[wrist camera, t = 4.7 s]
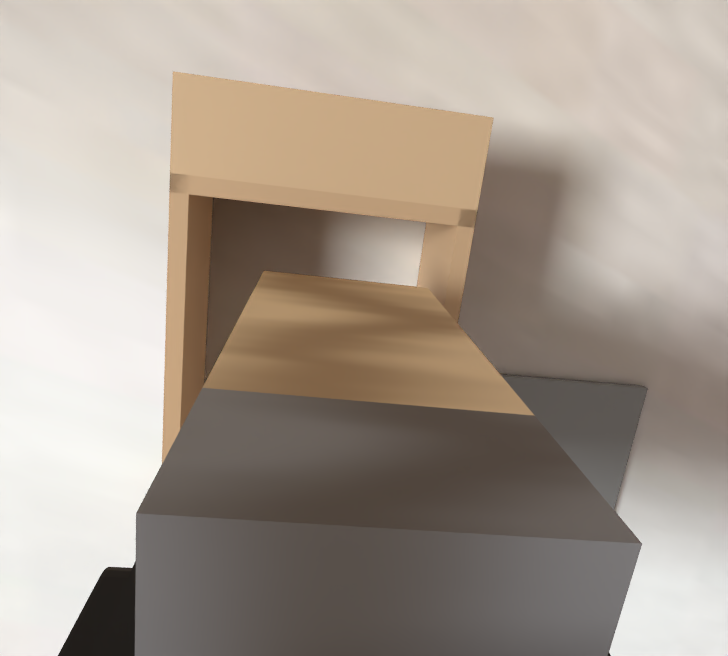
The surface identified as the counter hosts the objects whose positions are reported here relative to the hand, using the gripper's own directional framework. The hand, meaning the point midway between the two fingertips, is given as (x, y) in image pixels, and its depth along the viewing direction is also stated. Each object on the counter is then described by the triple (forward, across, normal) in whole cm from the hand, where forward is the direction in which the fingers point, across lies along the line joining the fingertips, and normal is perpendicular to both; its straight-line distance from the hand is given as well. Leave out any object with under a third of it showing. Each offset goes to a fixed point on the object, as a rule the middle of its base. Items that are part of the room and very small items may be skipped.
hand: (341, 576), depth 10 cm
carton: (+15, +1, 0) cm, 15 cm away
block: (+8, 0, 0) cm, 8 cm away
